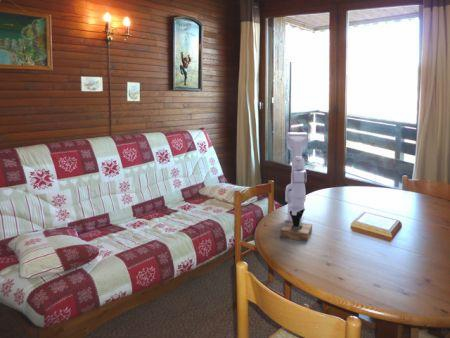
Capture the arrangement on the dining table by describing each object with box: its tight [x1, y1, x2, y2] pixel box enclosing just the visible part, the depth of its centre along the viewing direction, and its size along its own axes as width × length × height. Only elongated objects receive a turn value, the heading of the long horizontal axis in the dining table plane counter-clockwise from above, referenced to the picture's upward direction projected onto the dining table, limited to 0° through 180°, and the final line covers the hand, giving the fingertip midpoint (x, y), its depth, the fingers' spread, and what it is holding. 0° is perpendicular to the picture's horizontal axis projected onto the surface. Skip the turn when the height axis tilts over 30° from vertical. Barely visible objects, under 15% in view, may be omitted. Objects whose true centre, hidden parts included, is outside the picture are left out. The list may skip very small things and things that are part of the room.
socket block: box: [280, 221, 313, 242], centre depth 179 cm, size 12×12×4 cm
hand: (296, 225), depth 178 cm, fingers closed on peg, 3 cm apart
